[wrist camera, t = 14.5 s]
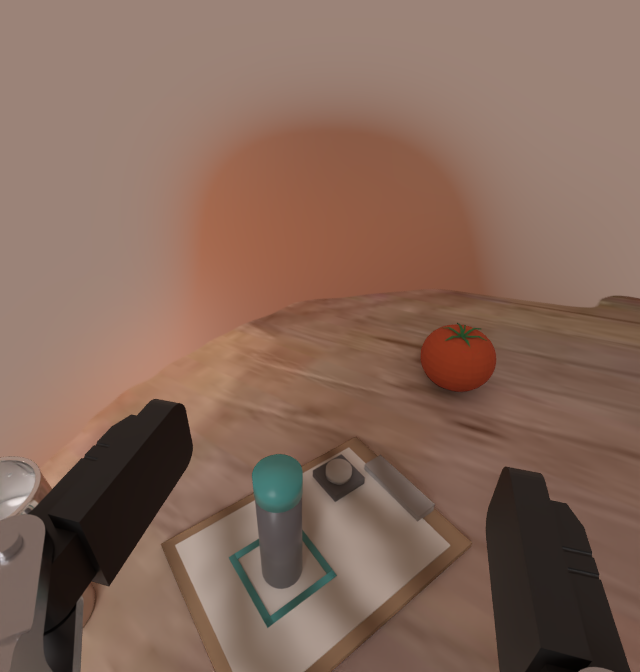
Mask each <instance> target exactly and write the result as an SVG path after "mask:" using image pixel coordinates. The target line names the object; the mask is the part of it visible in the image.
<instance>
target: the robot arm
mask: <svg viewBox="0 0 640 672" xmlns="http://www.w3.org/2000/svg"><path fill="white" fill-rule="evenodd" d="M192 451H193V444H192V439H191V434H190V429H189V424H188V419H187V414H186V409H185V407H184V405H183V404H180V403H175V402H170V401H164V400H159V399H153V400H151V401H150V402H149V403H148V404H147V405H146V406H145V407H144V408H143V409H142V411H141V412H140V413H139V414H138V415H137V416H136V415H130V416H128V417H127V418H125V419H123V420H122V421H120V422H118V423H117V424H115V425H113V426H112V427H111V428H110V429H109V430H108V431H107V432H106V433H105V434H104V435H103V436H102V437H101V438H100V439H99V440H98V441H97V444H96V446H95V445H94V446H93V447H92V448H91V449H90V450H89V451H88V452H87V453H86V454H85V457H84V458H83V459H82V458H81V459H80V460H79V461H78V463H77V464H76V465H75V466H74V467H73V468H72V469H71V470H70V471H69V472H68V473H67V474H66V475H65V476H64V477H63V478H62V479H61V480H60V481H59V482H58V484H57V485H56V486H55V487H54V488H53V489H52V490H51V491H50V492H49V493H48V494H47V495H46V496H45V497H44V498H43V499H42V500H41V501H40V502H39V504H38V505H37V506H36V507H35V508H34V509H33V510H31V511H30V512H29V513H28V514H22V515H15V516H11V517H8V518H5V519H3V520H1V521H0V672H80V670H81V648H82V626H83V604H84V602H83V595H82V594H83V593H84V591H85V590H86V588H87V587H88V586H89V584H90V583H91V581H92V582H96V583H99V584H102V585H106V586H110V584H111V583H112V581H113V580H114V578H115V577H116V575H117V574H118V572H119V571H120V569H121V568H122V566H123V564H124V563H125V561H126V560H127V558H128V557H129V555H130V554H131V552H132V551H133V549H134V548H135V546H136V545H137V543H138V542H139V540H140V539H141V537H142V535H143V534H144V532H145V531H146V529H147V528H148V526H149V525H150V523H151V522H152V520H153V519H154V517H155V516H156V514H157V513H158V511H159V510H160V508H161V506H162V505H163V503H164V502H165V500H166V499H167V497H168V496H169V494H170V493H171V491H172V490H173V488H174V487H175V485H176V484H177V482H178V481H179V479H180V477H181V476H182V474H183V473H184V471H185V470H186V468H187V467H188V465H189V462H190V460H191V456H192ZM486 541H487V551H488V561H489V570H490V580H491V590H492V600H493V610H494V620H495V630H496V640H497V650H498V660H499V670H500V672H631V671H630V668H629V665H628V662H627V659H626V656H625V653H624V650H623V647H622V644H621V641H620V638H619V634H618V631H617V628H616V625H615V622H614V619H613V616H612V613H611V610H610V607H609V603H608V600H607V597H606V594H605V591H604V588H603V585H602V582H601V580H599V572H598V569H597V566H596V563H595V560H594V558H592V551H591V548H590V544H589V541H588V538H587V535H586V532H585V529H584V527H583V525H582V524H581V523H580V521H579V520H578V518H577V517H576V516H575V514H574V513H573V512H572V510H571V509H570V508H569V506H568V505H567V504H566V503H562V502H557V501H552V500H550V498H549V494H548V490H547V487H546V483H545V479H544V477H543V475H542V474H541V473H536V472H531V471H526V470H521V469H515V468H510V467H504V468H503V470H502V472H501V475H500V478H499V480H498V483H497V486H496V488H495V491H494V494H493V497H492V499H491V502H490V505H489V508H488V512H487V518H486Z"/></svg>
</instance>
